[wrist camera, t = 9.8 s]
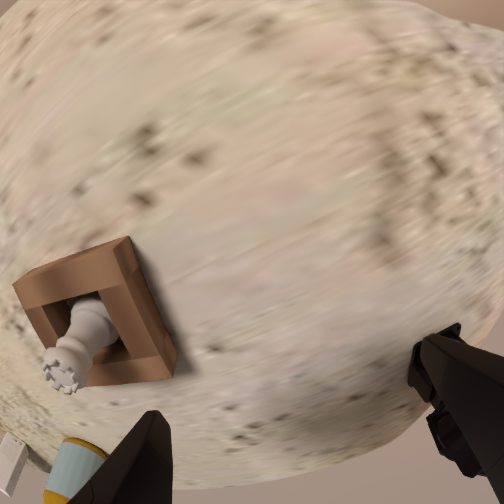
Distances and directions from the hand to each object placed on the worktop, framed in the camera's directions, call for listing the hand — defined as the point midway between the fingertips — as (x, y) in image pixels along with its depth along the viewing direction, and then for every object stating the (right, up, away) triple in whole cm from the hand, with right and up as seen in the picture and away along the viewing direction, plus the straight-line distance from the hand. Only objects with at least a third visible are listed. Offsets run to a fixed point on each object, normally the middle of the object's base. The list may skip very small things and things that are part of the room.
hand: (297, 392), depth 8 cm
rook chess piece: (-13, 0, +12) cm, 18 cm away
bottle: (-24, -23, +18) cm, 38 cm away
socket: (-13, 0, +12) cm, 18 cm away
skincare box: (-43, -30, +19) cm, 55 cm away
